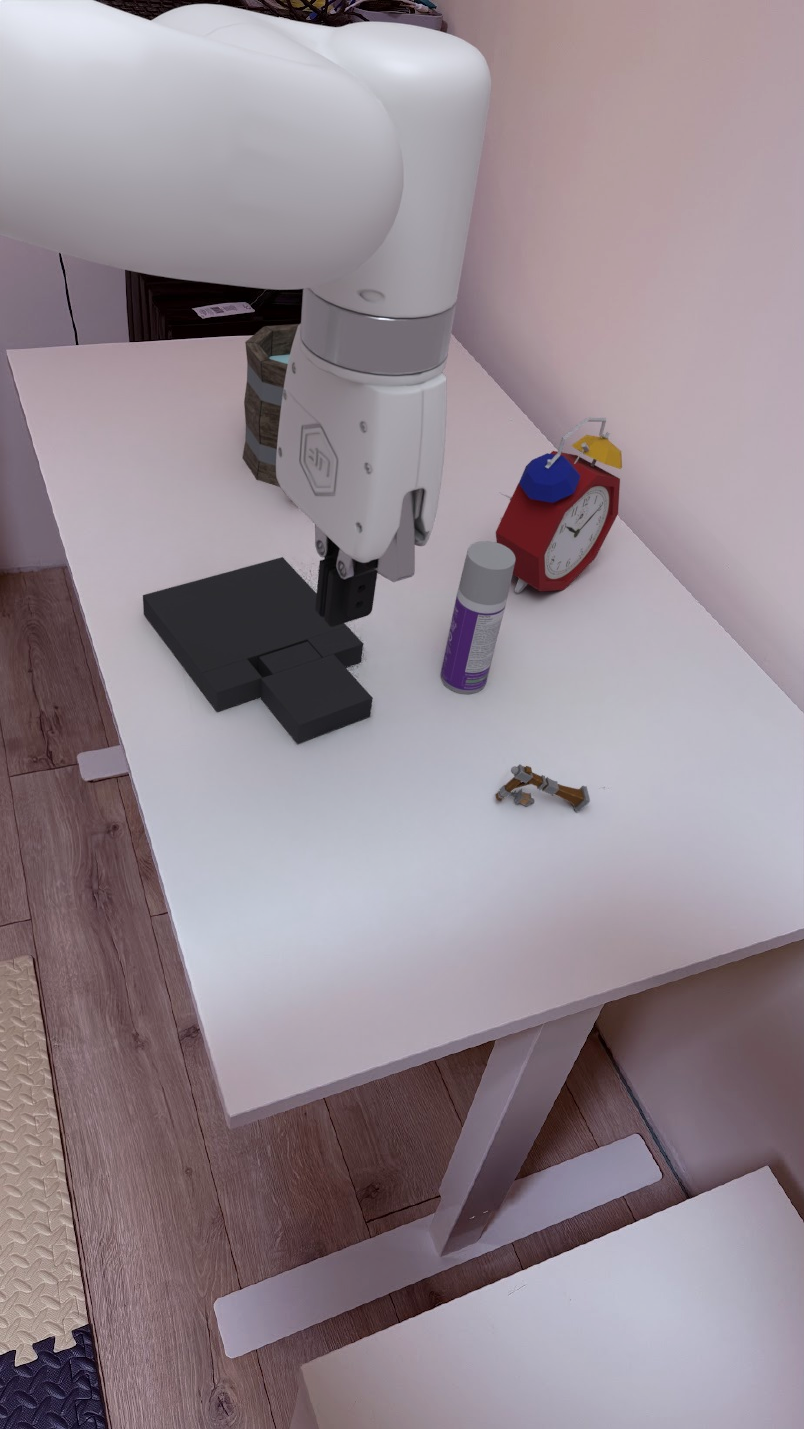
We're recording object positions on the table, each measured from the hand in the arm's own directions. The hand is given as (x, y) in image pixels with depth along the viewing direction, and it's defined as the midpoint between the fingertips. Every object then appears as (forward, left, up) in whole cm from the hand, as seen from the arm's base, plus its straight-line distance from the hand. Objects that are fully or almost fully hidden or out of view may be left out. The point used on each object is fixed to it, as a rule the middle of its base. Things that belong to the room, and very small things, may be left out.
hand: (343, 613), depth 63 cm
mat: (+10, +29, -27) cm, 41 cm away
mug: (+30, +54, -27) cm, 68 cm away
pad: (+11, +18, -27) cm, 34 cm away
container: (+26, +14, -27) cm, 40 cm away
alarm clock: (+45, +25, -27) cm, 58 cm away
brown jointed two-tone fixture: (+22, -3, -27) cm, 35 cm away
